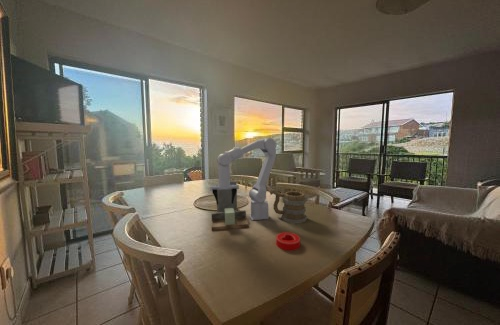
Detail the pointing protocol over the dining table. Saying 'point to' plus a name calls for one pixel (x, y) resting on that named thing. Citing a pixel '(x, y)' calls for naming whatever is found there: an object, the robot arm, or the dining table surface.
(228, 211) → the mini cabinet
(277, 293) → the dining table surface
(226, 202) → the hip flask
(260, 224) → the dining table surface
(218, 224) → the cleat wall
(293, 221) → the tankard
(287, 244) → the decorative ornament
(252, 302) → the dining table surface
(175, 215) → the dining table surface
